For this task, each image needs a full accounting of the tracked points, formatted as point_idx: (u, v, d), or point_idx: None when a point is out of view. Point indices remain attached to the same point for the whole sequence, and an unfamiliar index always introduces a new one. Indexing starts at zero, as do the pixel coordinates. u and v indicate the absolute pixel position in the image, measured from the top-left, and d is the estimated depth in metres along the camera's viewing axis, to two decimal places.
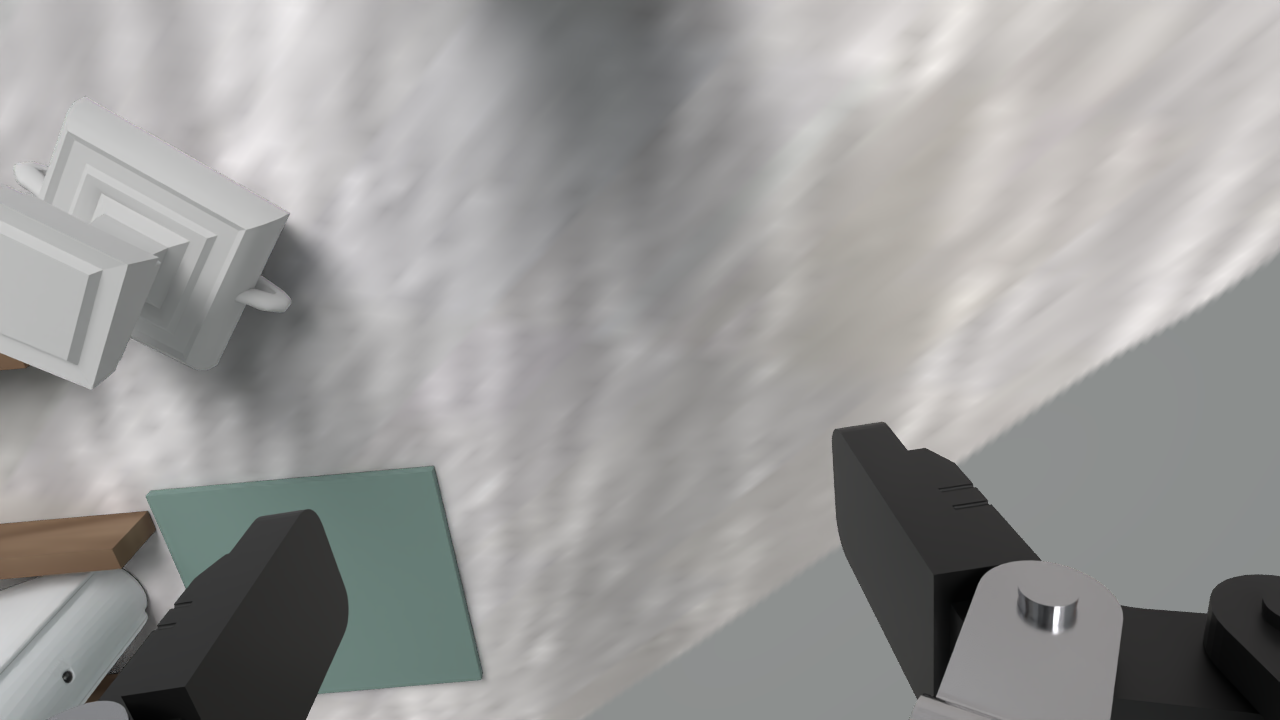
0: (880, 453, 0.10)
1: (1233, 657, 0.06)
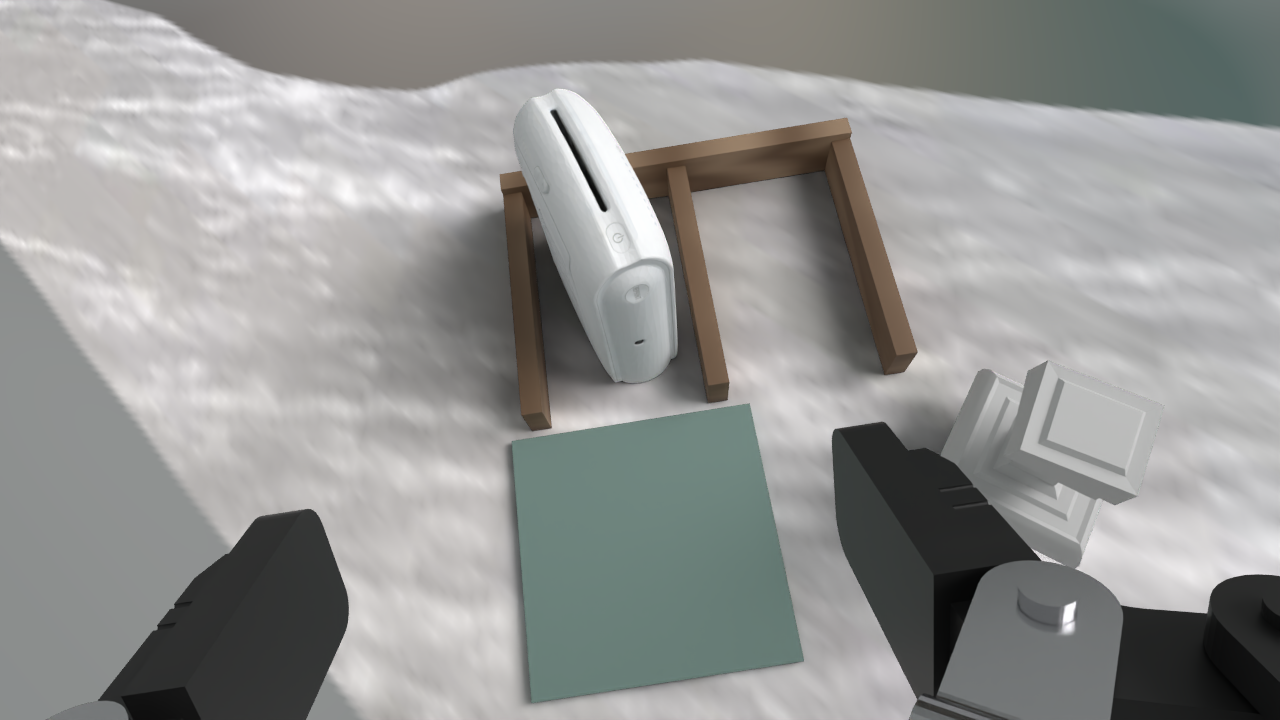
0: (880, 453, 0.10)
1: (1233, 657, 0.06)
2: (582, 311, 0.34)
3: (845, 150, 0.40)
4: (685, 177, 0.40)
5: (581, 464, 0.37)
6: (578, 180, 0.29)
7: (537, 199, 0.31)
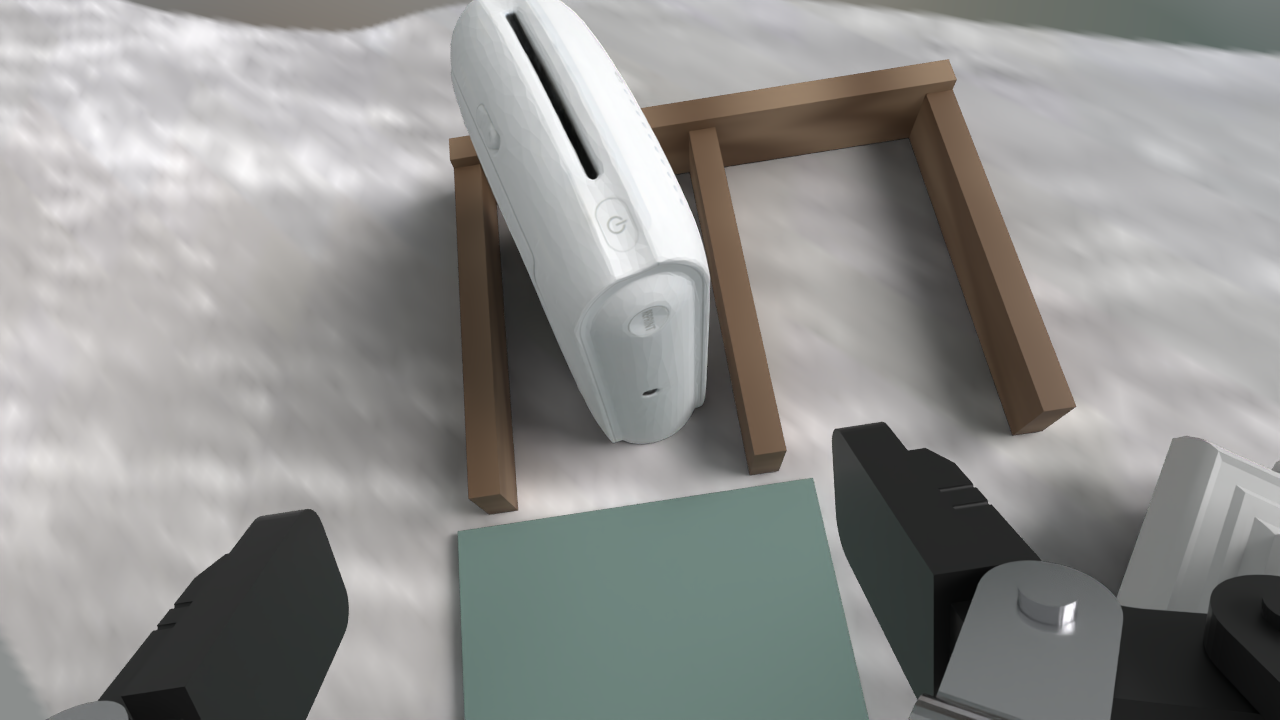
0: (880, 453, 0.10)
1: (1233, 657, 0.06)
2: (561, 343, 0.22)
3: (946, 106, 0.28)
4: (715, 143, 0.28)
5: (560, 569, 0.24)
6: (547, 124, 0.16)
7: (482, 161, 0.18)
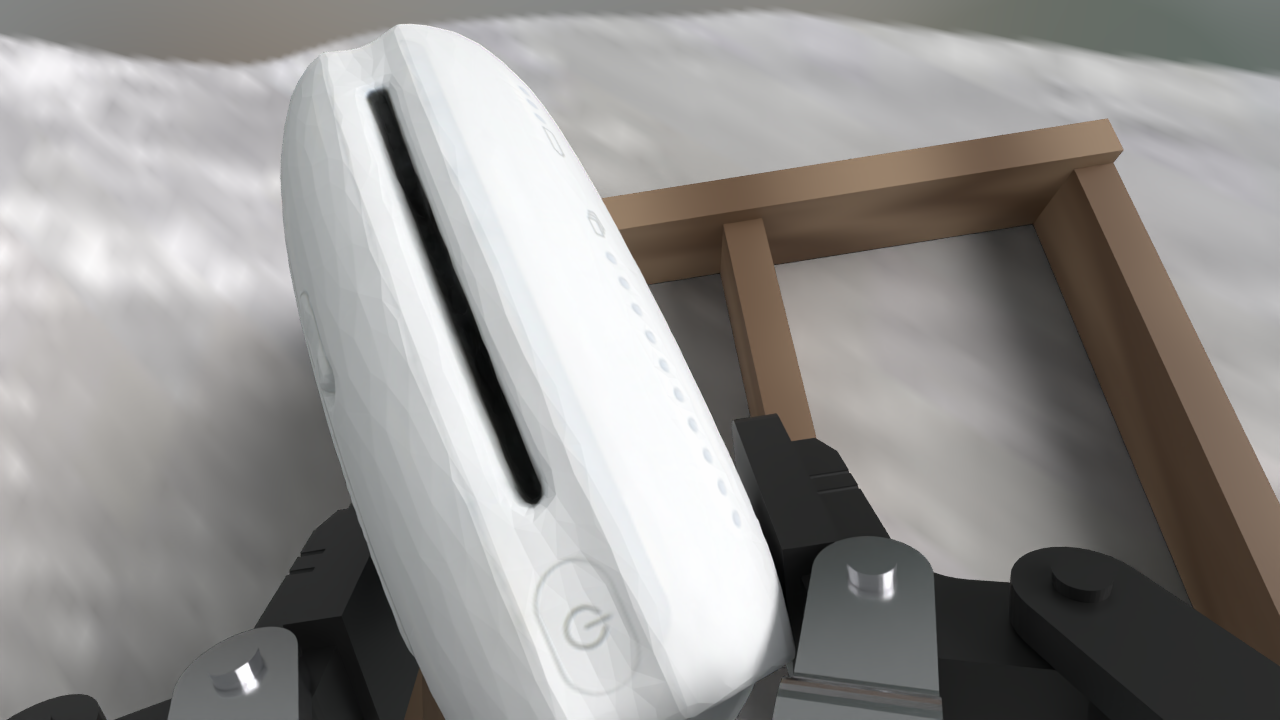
0: (765, 442, 0.11)
1: (1037, 630, 0.07)
2: None
3: (1107, 188, 0.19)
4: (764, 244, 0.19)
5: None
6: (424, 372, 0.07)
7: None
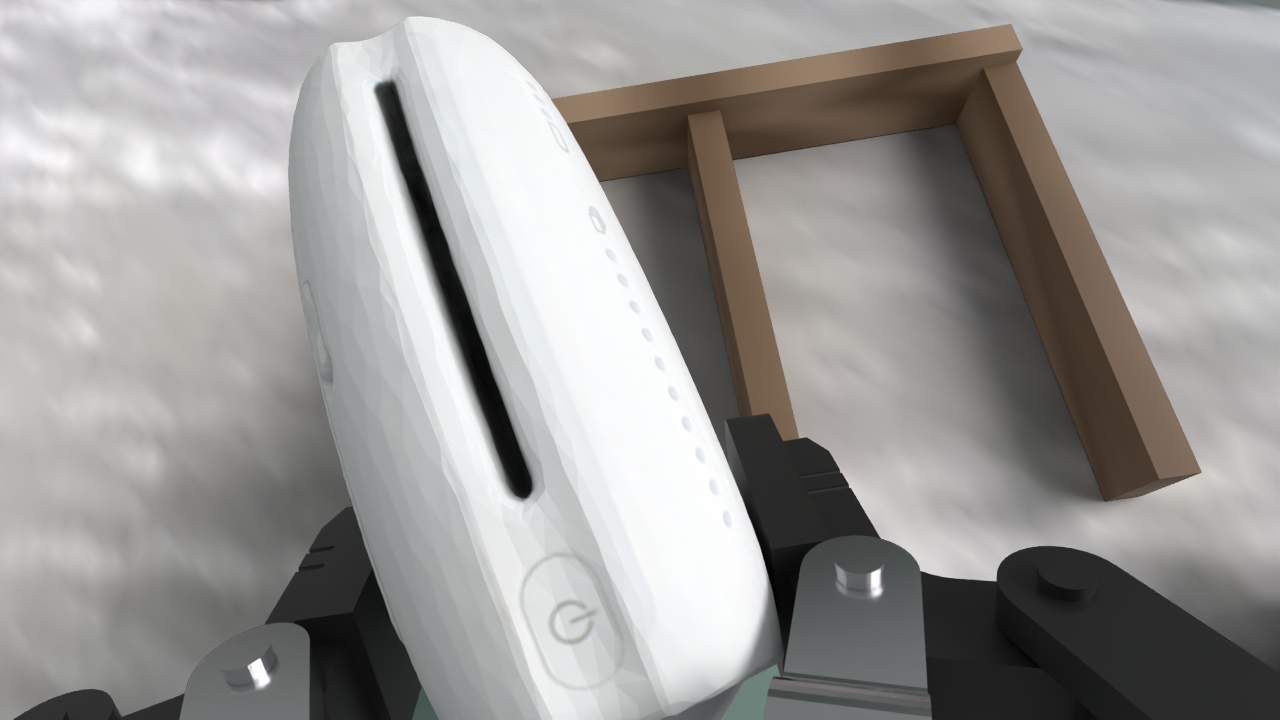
0: (756, 441, 0.11)
1: (1023, 629, 0.07)
2: None
3: (1009, 82, 0.22)
4: (721, 131, 0.22)
5: None
6: (418, 363, 0.07)
7: None
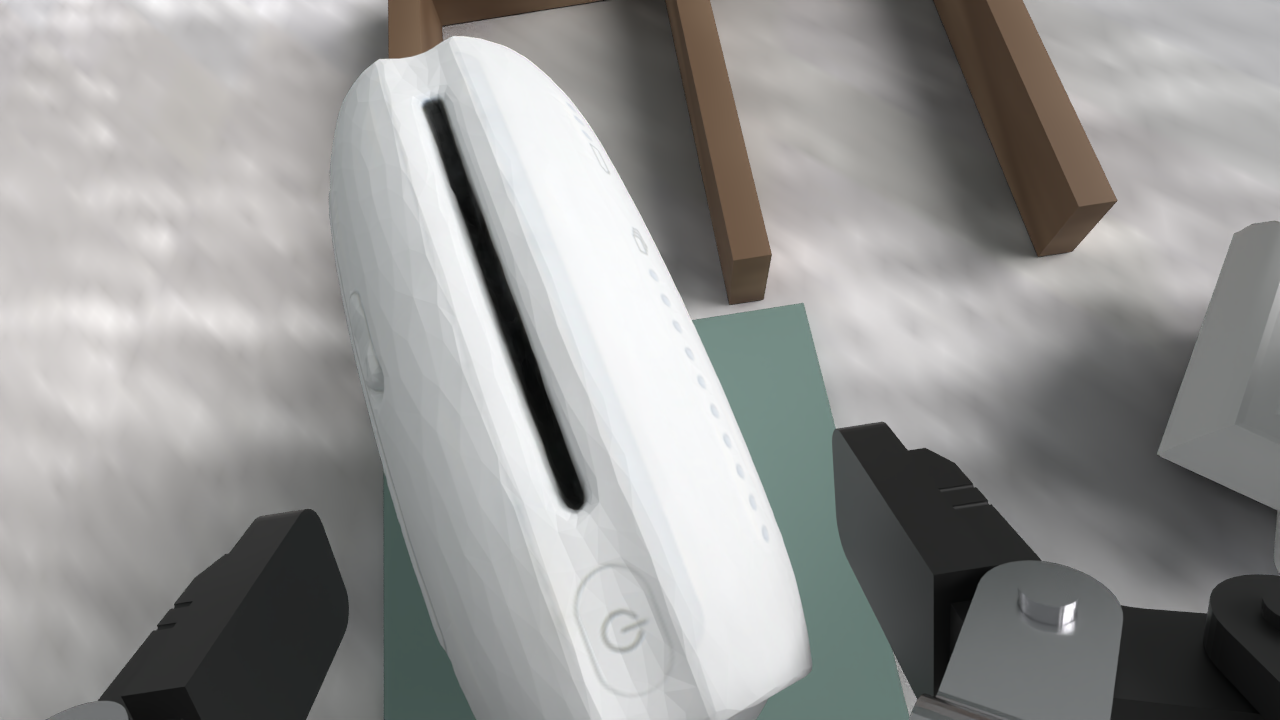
0: (880, 453, 0.10)
1: (1233, 657, 0.06)
2: None
3: None
4: None
5: None
6: (476, 376, 0.07)
7: None
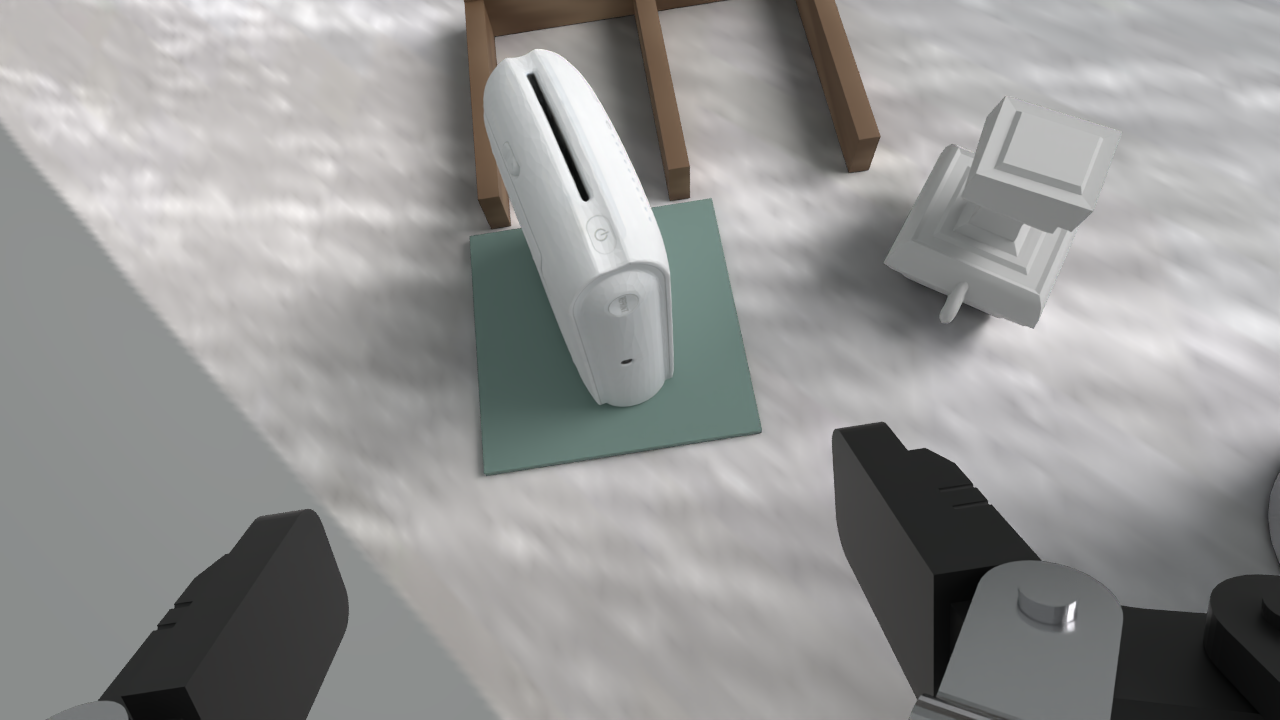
0: (880, 453, 0.10)
1: (1233, 657, 0.06)
2: (559, 321, 0.28)
3: None
4: None
5: None
6: (554, 160, 0.23)
7: (506, 183, 0.25)
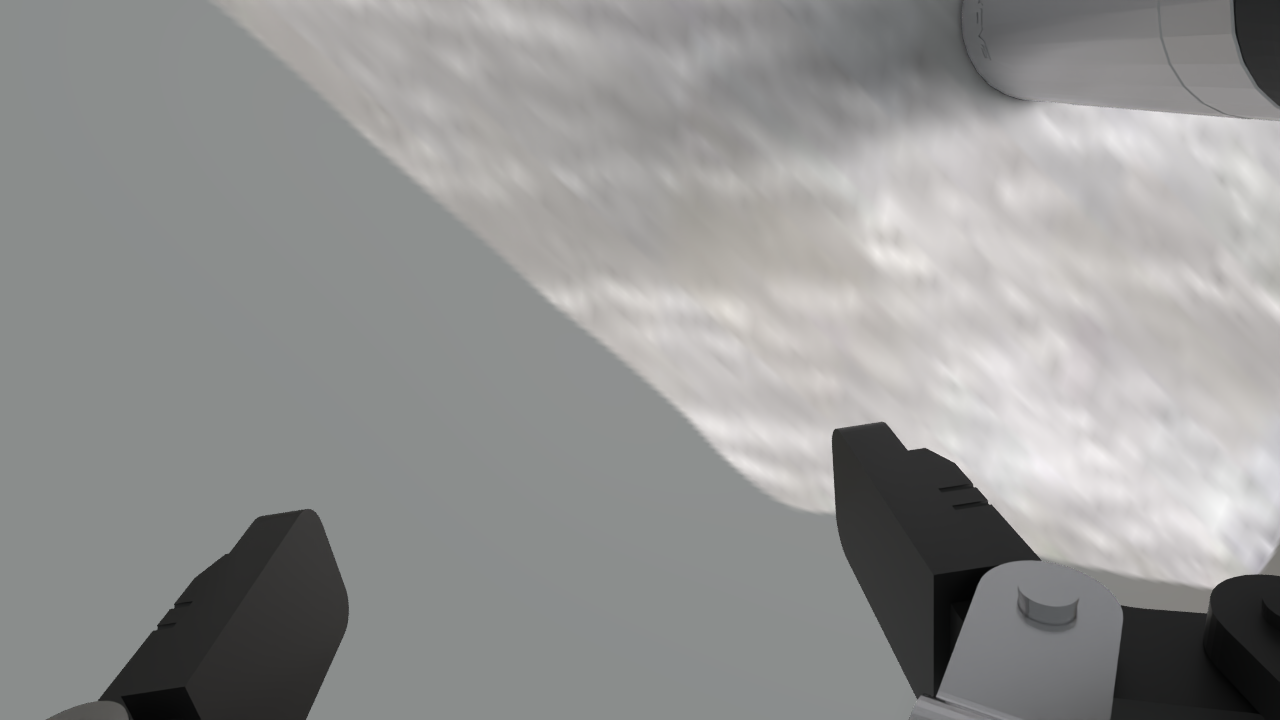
0: (880, 453, 0.10)
1: (1233, 657, 0.06)
2: None
3: None
4: None
5: None
6: None
7: None
